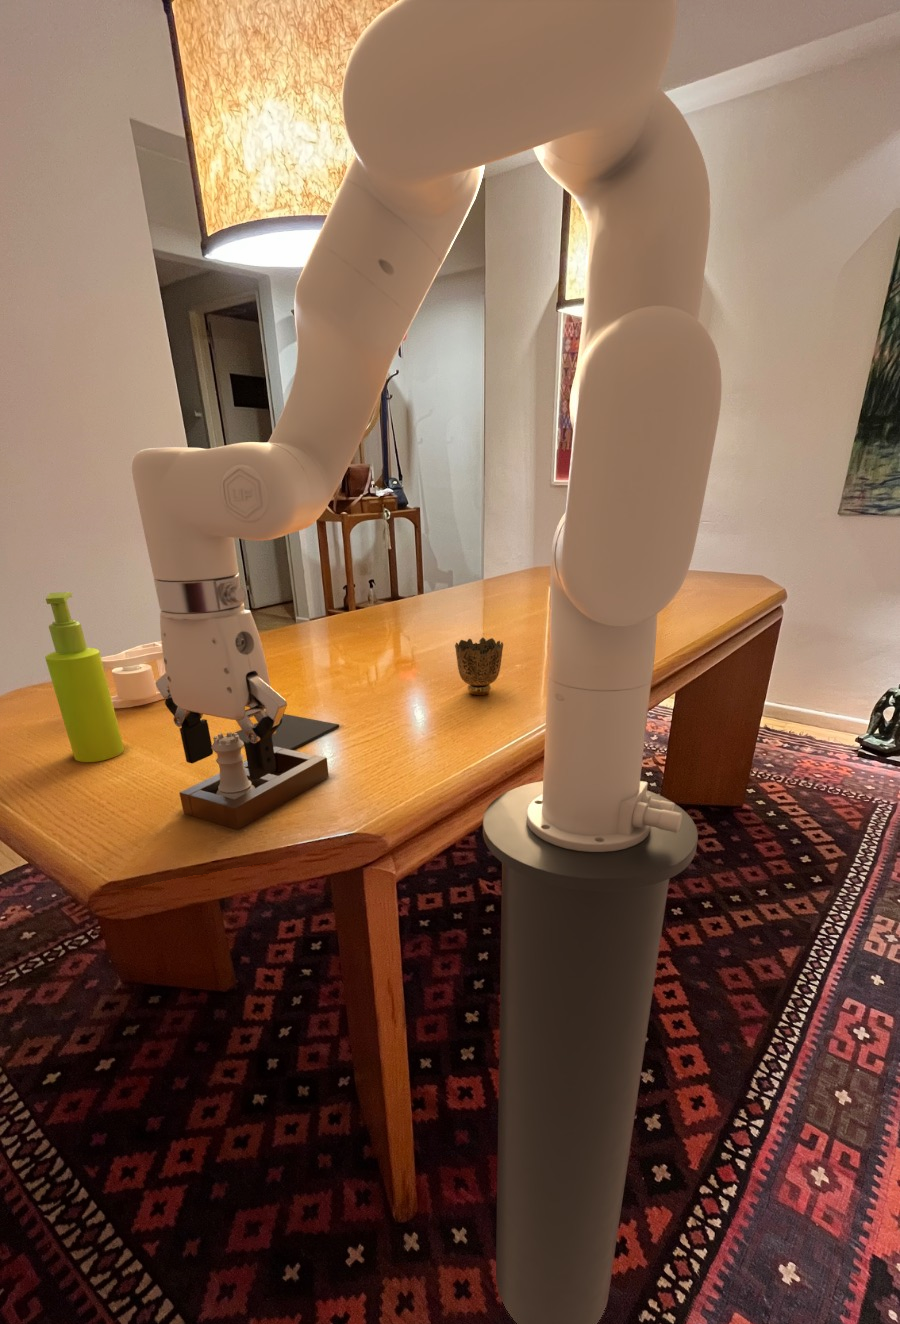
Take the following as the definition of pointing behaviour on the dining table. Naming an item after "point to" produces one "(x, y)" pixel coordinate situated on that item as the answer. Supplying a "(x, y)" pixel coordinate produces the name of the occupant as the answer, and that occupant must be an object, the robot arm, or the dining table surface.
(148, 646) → the skeletal toy car
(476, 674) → the cup
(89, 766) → the dining table surface
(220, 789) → the rook chess piece
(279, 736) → the coaster
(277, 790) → the holder
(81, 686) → the soap dispenser
